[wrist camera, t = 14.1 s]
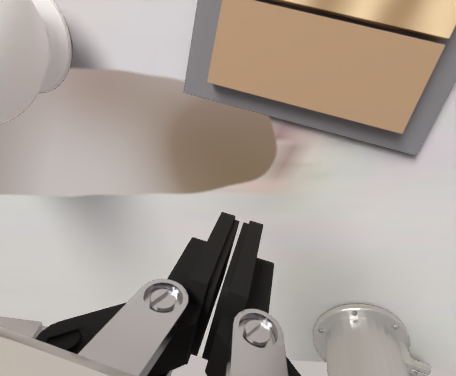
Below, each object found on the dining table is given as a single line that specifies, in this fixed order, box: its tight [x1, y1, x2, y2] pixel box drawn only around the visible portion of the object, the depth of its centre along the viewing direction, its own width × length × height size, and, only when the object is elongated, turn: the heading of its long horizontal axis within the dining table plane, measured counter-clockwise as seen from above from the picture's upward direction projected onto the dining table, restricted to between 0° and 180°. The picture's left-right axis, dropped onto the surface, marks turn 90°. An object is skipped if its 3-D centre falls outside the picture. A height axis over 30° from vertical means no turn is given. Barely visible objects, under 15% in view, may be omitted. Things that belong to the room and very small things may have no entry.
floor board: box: [184, 0, 456, 155], centre depth 28 cm, size 26×22×3 cm
